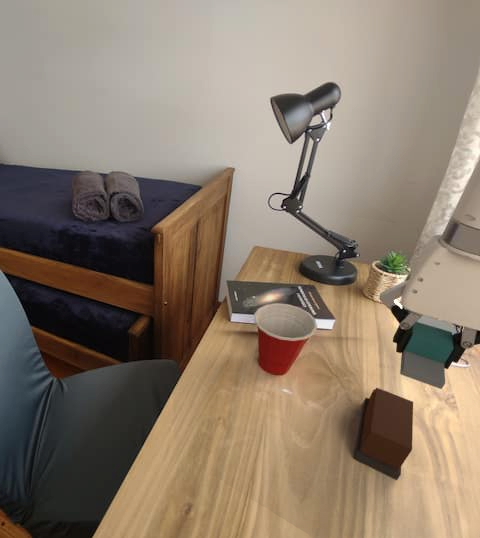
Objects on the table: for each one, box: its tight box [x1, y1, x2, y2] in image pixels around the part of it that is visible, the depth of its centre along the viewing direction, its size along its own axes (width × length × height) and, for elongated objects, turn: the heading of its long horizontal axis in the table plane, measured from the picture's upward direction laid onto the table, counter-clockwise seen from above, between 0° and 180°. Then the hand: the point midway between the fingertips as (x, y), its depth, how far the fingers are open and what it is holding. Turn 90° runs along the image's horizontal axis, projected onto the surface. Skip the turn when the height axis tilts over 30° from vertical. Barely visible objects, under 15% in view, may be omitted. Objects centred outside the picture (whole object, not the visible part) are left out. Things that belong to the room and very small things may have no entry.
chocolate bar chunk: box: [353, 387, 414, 481], centre depth 57 cm, size 13×6×6 cm, turn 144°
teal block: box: [399, 321, 454, 390], centre depth 49 cm, size 9×4×4 cm, turn 144°
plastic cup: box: [253, 302, 318, 376], centre depth 69 cm, size 11×11×12 cm
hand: (421, 353), depth 51 cm, fingers closed on teal block, 4 cm apart
